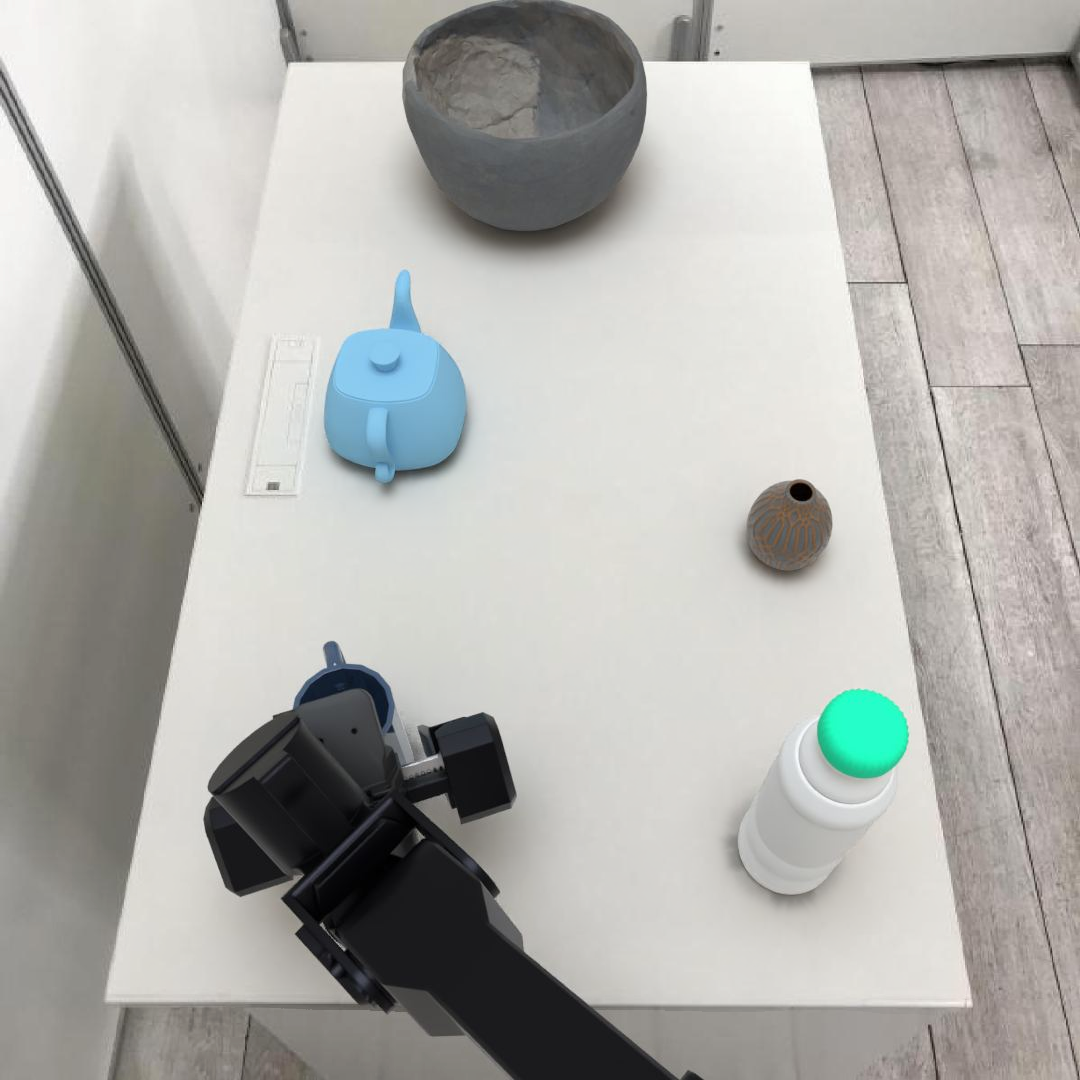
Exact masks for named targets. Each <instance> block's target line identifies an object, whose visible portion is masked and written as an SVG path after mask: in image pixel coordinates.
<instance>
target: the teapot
mask: <svg viewBox="0 0 1080 1080" xmlns="http://www.w3.org/2000/svg"><path fill="white" fill-rule="evenodd" d="M411 278H412V277H411V273H410V271H409V270H408V269H402V270H401V271H400V272H399V273H398V274H397V276H396V280H395V284H394V294H393V303H392V310H391V316H390V321H389V326H388V328H374V329H373V328H372V329H365V330H361V331H357V332H354V333H352V334H350V335H348V336H347V337H346V338H345V340H343V342H342V344H341V345H340V348H339V351H338V353H337V356H336V358H335V360H334V363H333V366H332V369H331V372H330V375H329V378H328V382H327V386H326V390H325V399H324V410H323V411H324V412H323V425H324V432H325V437H326V440H327V443H328V444H329V447H330V448H331V449H332V450H333V451H334V452H335V454H337V455H338V456H340V457H342V458H343V459H345V460H348V461H350V462H352V463H354V464H357V465H361V466H364V467H368V468H372V469H375V473H374V479H375V480H376V481H377V482H378V483H382V484H386V483H390V482H392V480H393V479H394V477H395V473H396V471H412V470H419V469H425V468H428V467H429V468H430V467H433V466H435V465H437V464H440V463H442V462H443V461H445V460H446V459H447V458H448V457H450V455H451V454H452V453H453V452H454V450H455V449H456V447H457V445H458V443H459V440H460V437H461V435H462V431H463V427H464V424H465V419H466V413H467V395H466V394H467V392H466V384H465V381H464V378H463V375H462V373H461V370H460V367H459V366H458V364H457V362H456V361H455V359H454V358H453V357H452V355H451V354H450V353H449V352H448V351H447V350H446V349H445V347H444V346H443V345H442V344H440V343H439V342H438V341H437V340H436V339H435V338H433V337H432V336H430V335H428V334H425V333H422V329H421V328H422V327H421V325H420V323H419V320H418V317H417V315H416V312H415V309H414V306H413V302H412V296H411V294H412V293H411V287H412V286H411V285H412V282H411V281H412V279H411Z"/></svg>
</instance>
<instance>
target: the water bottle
mask: <svg viewBox="0 0 1080 1080" xmlns="http://www.w3.org/2000/svg"><path fill="white" fill-rule="evenodd" d="M907 722H908V720H907V718H906V717H905V715H904V712H903V711H902V710H901V709H900V706H899V705H898V704H897V705H896V704H895V702H894V701H893V700H890V698H889V697H888V696H885V695H883V694H882V693H881V692H877V691H875V690H869V689H868V688H865V689H862V688H857V689H854V688H851V689H849V690H844V691H842V692H841V693H839V694H837V695H835V697H834V698H832V699H830V701H829V703H827V705H826V706H825V707H824V709H823V710H822V712H821V713H818V714H814V715H811V716H809V717H806V718H805V719H803V720H802V721H800V722H798V723H797V724H796V725H795V726H794V727H793V728H792V729H790V730H789V732H788V734H787V735H786V736H785V737H784V739H783V741H782V743H781V745H780V748H779V750H778V754H777V755H776V757H775V758H774V760H773V762H772V763H771V765H770V767H769V768H768V770H767V773H766V775H765V777H764V779H763V781H762V784H761V786H760V788H759V790H758V792H757V793H756V794H755V796H754V798H753V800H752V802H751V804H750V807H749V809H748V810H747V812H746V813H745V814H744V817H743V819H742V820H741V823H740V826H739V829H738V833H737V848H738V853H739V857H740V860H741V862H742V865H743V866H744V868H745V870H746V871H747V873H748V874H749V875H750V876H751V877H752V879H754V880H755V881H756V882H757V883H758V884H759V885H760V886H762V887H764V888H766V889H767V890H770V891H771V892H774V893H777V894H780V895H781V894H782V895H792V896H793V895H802V894H805V893H809V892H811V891H812V890H814V889H816V888H817V887H819V886H820V885H821V884H822V883H823V882H825V881H826V879H827V878H828V877H829V876H830V875H831V873H832V871H833V870H834V869H835V868H836V867H837V866H838V865H839V864H840V863H841V862H842V861H843V860H844V858H845V856H846V854H847V853H849V852H850V851H851V850H852V849H853V848H854V847H855V846H856V845H857V844H858V843H859V842H860V840H861V839H863V837H864V836H865V835H866V834H867V832H868V831H869V830H870V829H871V827H872V826H873V825H874V823H875V822H876V821H877V820H879V819H880V818H881V817H882V816H883V815H884V814H885V813H886V812H887V811H888V809H889V808H890V806H891V805H892V803H893V802H894V799H895V796H896V794H897V792H898V791H897V790H898V786H899V768H898V764H899V762H900V761H901V760H902V759H903V757H904V755H905V754H906V752H907V749H908V744H909V741H910V739H909V738H910V732H909V725H908V724H907Z"/></svg>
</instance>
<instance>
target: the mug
mask: <svg viewBox="0 0 1080 1080" xmlns="http://www.w3.org/2000/svg"><path fill="white" fill-rule="evenodd" d="M322 653H323V657H324V661H325V666H326V667H325V668H322V669H321V670H319V671H318V672H316V673H315V674H314V675H312V676H310V678H307V680H305V682H304V683H303V685H302V686H301V687H300V689H299V691H298V692H297V694H296V695H295V696H294V701H293V705H292V709H295V708H296V707H298V706H299V705H301V704H304V703H307V702H311V701H314V700H317V699H320V698H324V697H327V696H330V695H334V694H337V693H340V692H344V691H347V690H351V689H357V688H359V689H364V690H366V691H367V692H368V693H370V695H371V696H372V698H373V701H374V704H375V708H376V712H377V715H378V719H379V722H380V726H381V729H382V733H383V736H384V740H385V744H386V745H389V746H391V747H392V748H393V750H394V753H396V752H397V754H398V757H399V761H400V764H401V766H402V765H405V764H408V763H411V762H415V761H416V760H415V757H414V753H413V750H412V747H411V744H410V741H409V737H408V735H407V731H406V729H405V726H404V723H403V720H402V717H401V715H400V712H399V708H398V705H397V702H396V700H395V697H394V693H393V691H392V687H391V685H389V683H388V682H387V681H386V680H385V679H384V678H383V676H382V675H381V674H380V673H379V672H378V671H376V670H374V669H372V668H369V667H368V666H366V665H363V664H359V663H358V664H357V663H347V662H346V658H345V656H344V654H343V651H342V649H341V646H340V644H339V643H338V642H336V641H335V640H328V641H326V642H325V643H324V644H323V646H322ZM411 777H412V776H410V778H411ZM405 779H406V778H404V780H405Z"/></svg>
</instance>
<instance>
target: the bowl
mask: <svg viewBox="0 0 1080 1080" xmlns="http://www.w3.org/2000/svg"><path fill="white" fill-rule="evenodd" d="M647 83H648V82H647V75H646V70H645V66H644V61H643V59H642V56H641V54H640V51H639V50H638V47H637V46H636V44H635V43H634V41H633V40H632V39H631V38H630V36H629V35H628V34H627V33H626V32H625V31H624V30H623V29H622V27H620V25H618V24H617V23H616V22H615V21H614V20H613V19H611V18H610V17H609V16H607V15H605V14H603V13H601V12H599V11H596V10H593V9H590V8H588V7H586V6H582V5H578V4H575V3H571V2H568V1H565V0H491V1H487V2H484V3H479V4H476V5H471V6H468V7H466V8H464V9H462V10H459V11H457V12H454V13H452V14H450V15H448V16H445V17H443V18H442V19H439V20H438V21H436V22H434V23H432V24H431V25H429V26H427V27H426V28H424V30H423V31H422V32H421V33H420V34H419V35H418V36H417V37H416V39H415V40H414V41H413V43H412V45H411V47H410V49H409V50H408V54H407V56H406V60H405V62H404V64H403V68H402V88H401V89H402V91H401V92H402V93H401V98H402V103H403V109H404V114H405V119H406V122H407V125H408V128H409V130H410V132H411V135H412V138H413V139H414V142H415V145H416V147H417V149H418V152H419V155H420V156H421V158H422V161H423V162H424V164H425V165H426V168H427V171H428V172H429V174H430V176H431V178H432V179H433V181H434V182H435V184H436V185H437V186H438V188H439V189H440V190H441V192H442V193H443V194H444V195H445V196H446V197H447V199H449V200H450V201H451V202H452V203H453V204H454V205H455V206H456V207H458V209H459V210H461V211H462V212H464V213H465V214H466V215H468V216H470V217H471V218H473V219H475V220H477V221H480V222H482V223H485V224H486V225H489V226H493V227H495V228H498V229H502V230H507V231H517V232H531V231H532V232H535V231H543V230H548V229H552V228H556V227H559V226H562V225H563V224H566V223H568V222H572V221H573V220H575V219H578V218H580V217H582V216H583V215H585V214H586V213H588V212H590V211H592V210H593V209H595V208H597V206H599V205H600V204H601V203H603V202H604V201H606V199H608V197H609V196H610V195H611V194H612V192H613V191H614V190H615V189H616V187H617V186H618V185H619V183H620V181H621V180H622V179H623V177H624V175H625V173H626V171H628V168H629V166H630V164H631V163H632V161H633V158H634V156H635V155H636V152H637V150H638V148H639V146H640V142H641V139H642V136H643V133H644V129H645V124H646V123H645V122H646V116H647V107H648V106H647V105H648V85H647Z"/></svg>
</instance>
